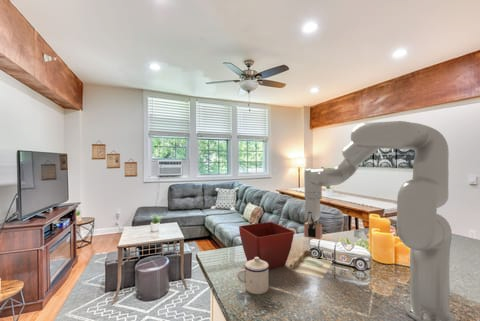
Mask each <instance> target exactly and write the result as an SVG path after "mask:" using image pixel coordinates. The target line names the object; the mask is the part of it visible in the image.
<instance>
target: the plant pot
mask: <svg viewBox="0 0 480 321" xmlns="http://www.w3.org/2000/svg"><path fill="white" fill-rule="evenodd" d="M238 229H239V230H238V231H239V236H240V237H239V238H240V240H241V241H240V242H241V246H242V249H243V253H244V256H245V259H246V262H248V261H250V260H253V259H254V258H255V257H259V259H260V260H263V261H266V262H267V263H268V265H269V268H268V271H270V270H273V269H278V268H283V267H285V266H286V264H287V261H288V257H289V256H290V252H291V248H292V245H293V240H294V235H295V231H294V230H291V229H290V228H287V227H284V226H282V225H280V224H278V223H276V222H273V221H268V222H260V223H252V224H245V225H239V226H238Z"/></svg>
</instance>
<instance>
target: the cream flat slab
mask: <svg viewBox="0 0 480 321" xmlns="http://www.w3.org/2000/svg"><path fill="white" fill-rule="evenodd" d="M311 251H312V250H309V249H304V250H303V251H302V252H301V253H299V254H298V256H296V258H295V259H294V260H293V261H292V262H291V263H290V264H289V270H290V271H292V272H295V273H296V272H297V273H300V274H304V275H307V276H312V277H317V278H321V279H324V278H325V276H326V275H327V273H328V271H329V269H330V268H331V265H332V264H333V262H332V261H329V260H325V259H317V258H312V257H311V256H310V252H311Z"/></svg>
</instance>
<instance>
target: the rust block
mask: <svg viewBox="0 0 480 321" xmlns="http://www.w3.org/2000/svg"><path fill="white" fill-rule="evenodd" d="M311 223H312V222H311ZM303 225H304V226H303V227H304V236H303V237H306V238H309V239H314V240H315V239H317V240H321V239H322V238H323V223H319V222H318V223H315V228H316V237H309V236H308V221H305V222H304V224H303Z"/></svg>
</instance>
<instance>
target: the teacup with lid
mask: <svg viewBox="0 0 480 321" xmlns="http://www.w3.org/2000/svg"><path fill="white" fill-rule="evenodd" d="M244 268H245V269H244ZM244 268H243V269H242V268H241V269H240V270H238V271H237V274H236V275H237V276H236V277H237V280H238V282H240V284H241V283H242V284H245V290H246V291H247V292H248V293H249V294H253V295H262V294H265V293H267V292H268V291H269V288H270V286H269V285H270V284H269V281H270V280H269V270H268V268H269V265H268V263H267V262H266V261H263V260H260V259H259V257H255V258H254V259H253V260H250V261H246V262H245V264H244ZM241 273H245V280H244V279H241V278H240V274H241Z"/></svg>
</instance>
